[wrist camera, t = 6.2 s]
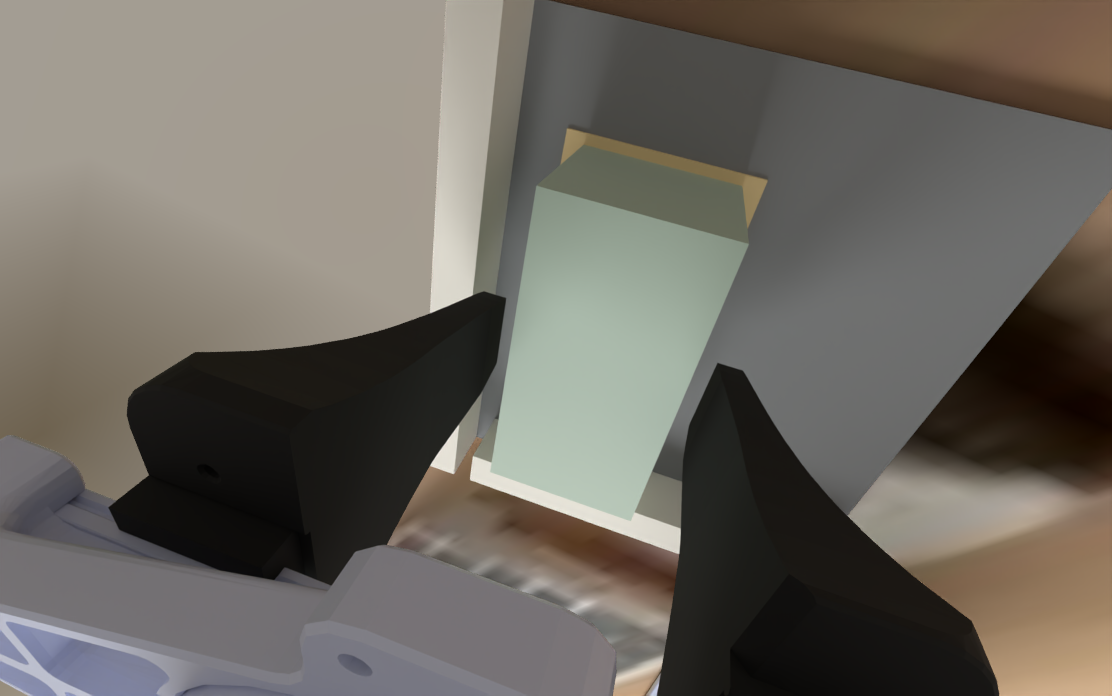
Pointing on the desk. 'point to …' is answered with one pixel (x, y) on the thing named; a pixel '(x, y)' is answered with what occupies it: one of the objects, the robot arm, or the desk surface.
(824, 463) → the arena
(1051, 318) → the desk surface
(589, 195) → the sage block
